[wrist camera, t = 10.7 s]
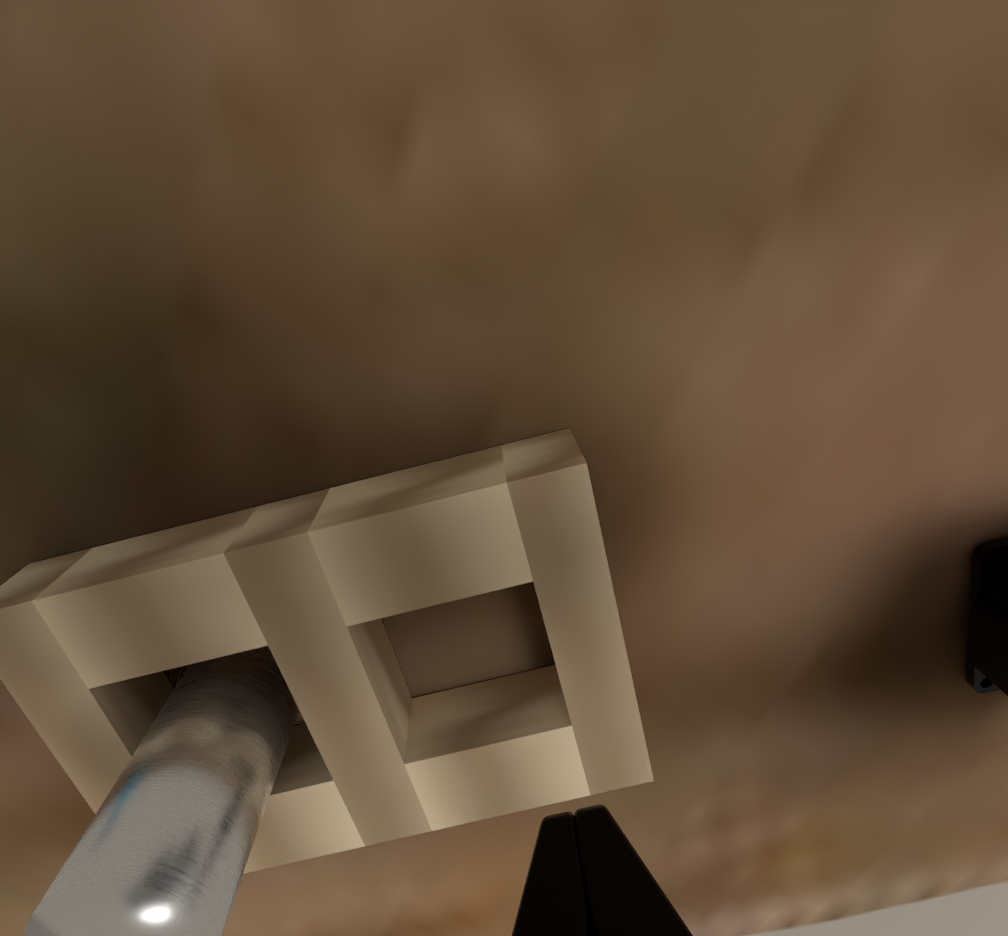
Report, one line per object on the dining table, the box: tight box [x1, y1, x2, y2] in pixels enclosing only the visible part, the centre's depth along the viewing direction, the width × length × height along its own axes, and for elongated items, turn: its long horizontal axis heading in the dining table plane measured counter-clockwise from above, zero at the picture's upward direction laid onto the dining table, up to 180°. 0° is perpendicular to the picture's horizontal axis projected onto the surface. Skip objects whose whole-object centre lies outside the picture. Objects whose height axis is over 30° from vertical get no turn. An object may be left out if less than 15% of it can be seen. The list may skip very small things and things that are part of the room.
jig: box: [0, 428, 654, 874], centre depth 20 cm, size 18×12×3 cm, turn 104°
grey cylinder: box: [24, 646, 299, 936], centre depth 18 cm, size 4×4×9 cm
